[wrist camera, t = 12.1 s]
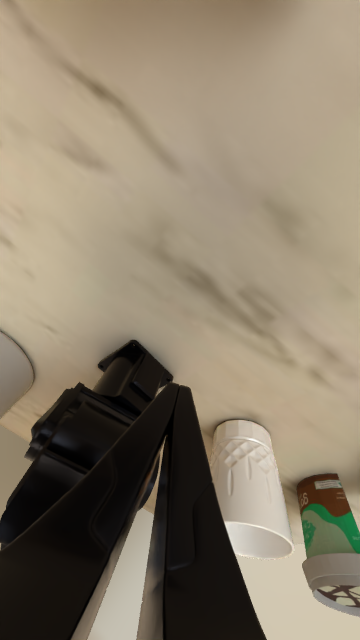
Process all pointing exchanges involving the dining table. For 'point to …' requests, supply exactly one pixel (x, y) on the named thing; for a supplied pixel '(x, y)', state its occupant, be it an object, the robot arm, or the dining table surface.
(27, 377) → the cylinder vase
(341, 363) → the dining table surface
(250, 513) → the drinking glass
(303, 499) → the food container
